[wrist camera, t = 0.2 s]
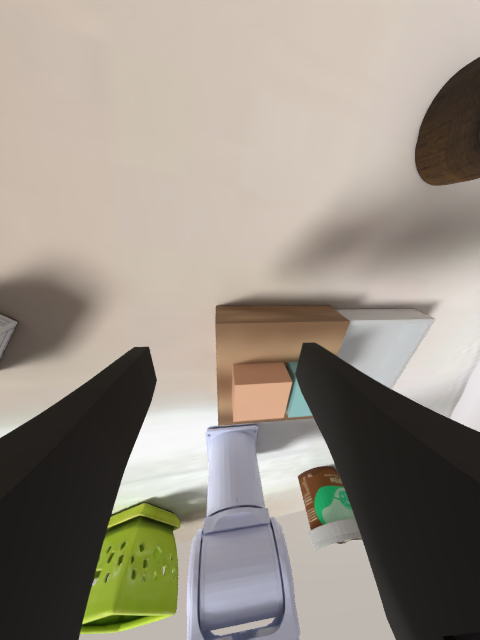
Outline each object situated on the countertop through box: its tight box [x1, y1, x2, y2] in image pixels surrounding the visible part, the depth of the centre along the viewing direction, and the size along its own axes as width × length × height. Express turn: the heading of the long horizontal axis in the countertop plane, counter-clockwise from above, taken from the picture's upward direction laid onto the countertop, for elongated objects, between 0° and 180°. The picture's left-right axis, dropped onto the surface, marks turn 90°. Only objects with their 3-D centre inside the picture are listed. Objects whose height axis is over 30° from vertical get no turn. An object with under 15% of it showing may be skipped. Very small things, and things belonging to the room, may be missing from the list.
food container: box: [298, 466, 362, 550], centre depth 35 cm, size 12×6×10 cm, turn 68°
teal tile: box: [286, 362, 313, 418], centre depth 18 cm, size 5×5×2 cm
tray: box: [335, 309, 435, 389], centre depth 22 cm, size 13×10×2 cm
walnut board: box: [216, 305, 350, 426], centre depth 21 cm, size 14×12×4 cm
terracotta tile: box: [232, 362, 292, 422], centre depth 18 cm, size 5×5×2 cm
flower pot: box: [80, 502, 180, 634], centre depth 35 cm, size 14×14×13 cm
